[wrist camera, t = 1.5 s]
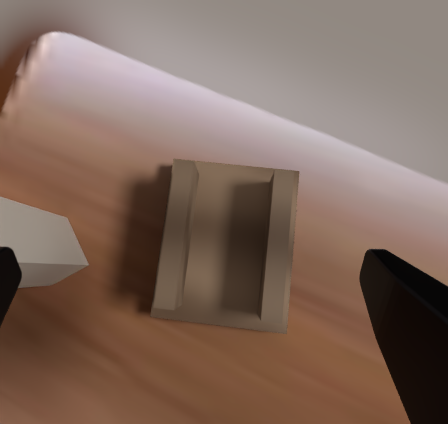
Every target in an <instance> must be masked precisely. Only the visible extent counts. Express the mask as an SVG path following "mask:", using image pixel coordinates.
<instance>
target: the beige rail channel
mask: <svg viewBox="0 0 448 424" xmlns="http://www.w3.org/2000/svg"><path fill="white" fill-rule="evenodd" d="M298 182H299V171H292V170H282V169H272V168H262V167H251V166H241V165H231V164H221V163H211V162H201V161H191V160H181V159H173V166H172V173H171V179H170V186H169V193H168V200H167V206H166V213H165V220H164V227H163V234H162V240H161V247H160V254H159V261H158V267H157V274H156V281H155V288H154V295H153V301H152V308H151V315H150V317H155V318H163V319H171V320H179V321H187V322H195V323H203V324H211V325H219V326H227V327H235V328H243V329H251V330H259V331H267V332H275V333H283V334H287V323H288V310H289V298H290V285H291V272H292V259H293V246H294V233H295V220H296V208H297V195H298Z"/></svg>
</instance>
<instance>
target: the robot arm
mask: <svg viewBox="0 0 448 424" xmlns="http://www.w3.org/2000/svg"><path fill="white" fill-rule="evenodd" d="M21 279H22V271H21V268H20V266H19V263H18V261H17V258H16V256H15V253H14V251H13V250H12V249H11V248H10V247H1V246H0V326H1V324H2V322H3V320H4V317H5V315H6V313H7V311H8V309H9V307H10V304H11V302H12V300H13V298H14V296H15V293H16V291H17V289H18V287H19V285H20V282H21ZM360 285H361V289H362V292H363V296H364V299H365V303H366V306H367V310H368V313H369V317H370V320H371V324H372V327H373V331H374V334H375V337H376V340H377V342H378V345H379V348H380V350H381V352H382V355H383V357H384V360H385V362H386V365H387V367H388V369H389V372H390V374H391V377H392V379H393V382H394V384H395V386H396V389H397V391H398V394H399V396H400V399H401V401H402V403H403V406H404V408H405V411H406V413H407V416H408V418H409V420H410V423H411V424H448V286H446V285H445V284H443V283H441V282H440V281H438V280H436V279H435V278H433V277H431V276H429V275H428V274H426V273H424V272H423V271H421V270H419V269H418V268H416V267H414V266H413V265H411V264H409V263H407V262H406V261H404V260H402V259H401V258H399V257H397V256H396V255H394V254H392V253H391V252H389V251H387V250H385V249H369V250H367V251H366V253H365V256H364V260H363V264H362V268H361V271H360Z"/></svg>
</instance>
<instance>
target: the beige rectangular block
mask: <svg viewBox="0 0 448 424" xmlns="http://www.w3.org/2000/svg"><path fill="white" fill-rule="evenodd" d="M0 246H1V247H10V248H11V249H12V250H13V251H14V253H15V256H16V258H17V261H18V263H19V266H20V268H21V271H22V279H21V282H20V285H19V287H18V288H23V287H36V286H49V285H53V284H55V283H57V282H59V281H61V280H62V279H64V278H66V277H68V276H70V275H72V274H74V273H75V272H77V271H79V270H81V269H83V268H85V267H87V266H88V265H89V264H88V262H87V260H86V258H85V255H84V253H83V251H82V249H81V247H80V245H79V242H78V240H77V238H76V236H75V234H74V232H73V229H72V227H71V225H70V223H69V221H68V218H66V217H63V216H60V215H57V214H53V213H50V212H47V211H44V210H41V209H38V208H34V207H31V206H28V205H25V204H22V203H19V202H15V201H12V200H9V199H6V198H3V197H0Z"/></svg>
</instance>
